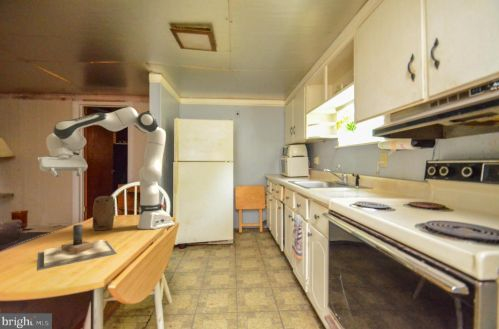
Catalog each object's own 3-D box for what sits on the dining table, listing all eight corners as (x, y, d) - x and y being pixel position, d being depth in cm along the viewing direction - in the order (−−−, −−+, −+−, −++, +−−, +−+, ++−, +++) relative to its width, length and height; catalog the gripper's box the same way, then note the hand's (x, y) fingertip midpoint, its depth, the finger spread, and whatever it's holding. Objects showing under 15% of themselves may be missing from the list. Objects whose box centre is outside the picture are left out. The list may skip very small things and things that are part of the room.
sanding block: (61, 250, 102) (61, 226, 102) (78, 245, 109) (78, 222, 109) (77, 253, 99) (77, 228, 99) (93, 248, 105) (93, 224, 105)
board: (102, 242, 118) (102, 239, 118) (110, 253, 104) (110, 249, 104) (44, 252, 104) (44, 249, 104) (44, 267, 89) (44, 263, 89)
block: (114, 227, 150) (115, 195, 150) (111, 230, 142) (111, 196, 143) (95, 228, 147) (95, 195, 147) (90, 231, 140) (90, 197, 140)
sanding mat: (106, 242, 121) (106, 240, 121) (117, 255, 104) (117, 253, 104) (38, 254, 104) (38, 252, 104) (36, 272, 87) (36, 270, 87)
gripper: (37, 151, 119) (44, 171, 114) (84, 153, 136) (91, 171, 131) (34, 160, 122) (41, 180, 116) (80, 161, 139) (88, 179, 133)
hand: (68, 175), depth 124 cm, fingers open, 8 cm apart
